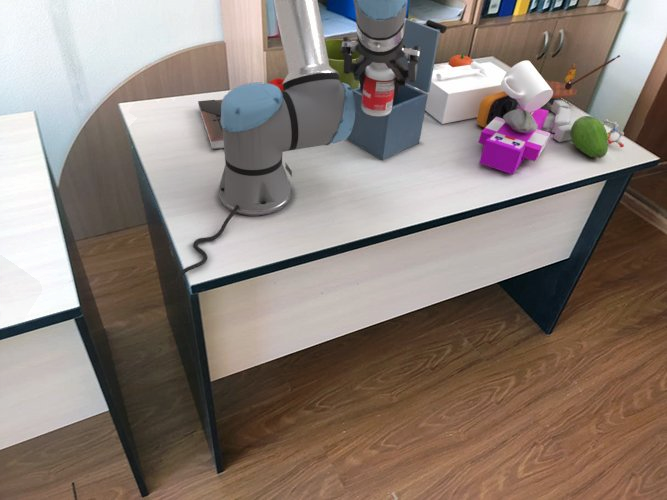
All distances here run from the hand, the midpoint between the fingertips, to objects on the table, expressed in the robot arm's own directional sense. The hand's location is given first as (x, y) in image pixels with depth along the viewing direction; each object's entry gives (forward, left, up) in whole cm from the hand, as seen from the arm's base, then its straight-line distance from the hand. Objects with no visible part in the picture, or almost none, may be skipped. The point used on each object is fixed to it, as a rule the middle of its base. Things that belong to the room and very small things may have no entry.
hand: (380, 86), depth 107 cm
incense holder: (+68, -33, -20) cm, 78 cm away
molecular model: (+52, -53, -20) cm, 76 cm away
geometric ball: (+61, 0, -17) cm, 63 cm away
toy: (+48, -29, -20) cm, 60 cm away
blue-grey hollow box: (+18, +3, -22) cm, 29 cm away
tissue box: (+49, -10, -22) cm, 55 cm away
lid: (+24, +1, -1) cm, 24 cm away
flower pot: (+30, +22, -22) cm, 43 cm away
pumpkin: (+70, -3, -23) cm, 73 cm away
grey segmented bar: (+51, -34, -21) cm, 64 cm away
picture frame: (+6, +39, -22) cm, 46 cm away
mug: (+39, -29, -12) cm, 50 cm away
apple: (+22, +36, -23) cm, 48 cm away
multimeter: (+47, -19, -18) cm, 54 cm away
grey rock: (+29, -27, -16) cm, 43 cm away
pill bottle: (-3, -1, -4) cm, 5 cm away
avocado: (+44, -40, -16) cm, 62 cm away
